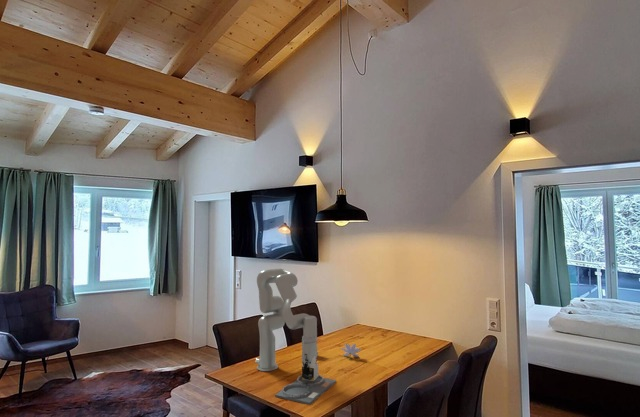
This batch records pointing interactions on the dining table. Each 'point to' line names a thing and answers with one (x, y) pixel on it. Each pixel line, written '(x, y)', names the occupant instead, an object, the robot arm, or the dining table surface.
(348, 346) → the water lily
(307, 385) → the steel rings
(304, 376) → the medicine bottle
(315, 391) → the socket board
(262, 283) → the robot arm
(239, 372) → the dining table surface
